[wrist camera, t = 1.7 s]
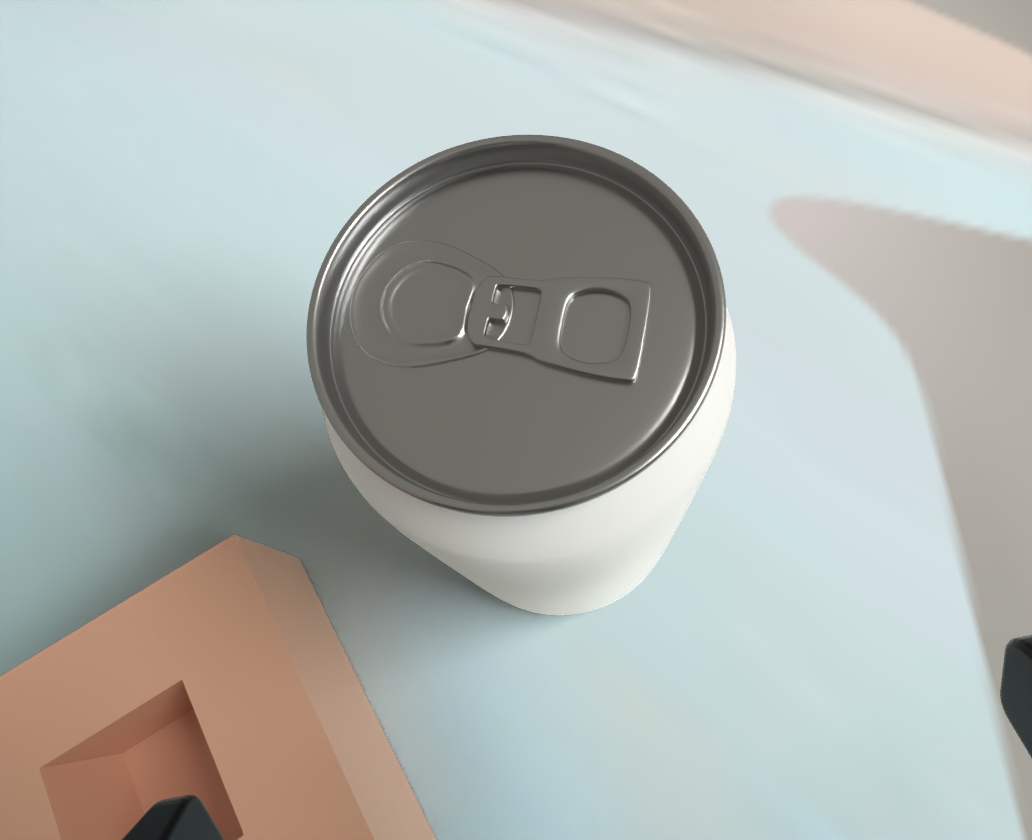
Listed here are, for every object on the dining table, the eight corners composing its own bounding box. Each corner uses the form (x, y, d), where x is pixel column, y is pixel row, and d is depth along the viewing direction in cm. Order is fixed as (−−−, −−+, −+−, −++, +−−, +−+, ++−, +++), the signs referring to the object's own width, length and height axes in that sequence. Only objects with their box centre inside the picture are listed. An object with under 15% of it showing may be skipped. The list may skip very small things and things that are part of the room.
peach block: (436, 839, 18) (394, 883, 15) (142, 1034, 18) (18, 1133, 14) (299, 557, 21) (234, 534, 17) (40, 717, 20) (-86, 727, 17)
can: (475, 382, 22) (347, 91, 11) (687, 415, 21) (785, 128, 10) (425, 592, 20) (209, 499, 9) (656, 640, 19) (732, 601, 8)
